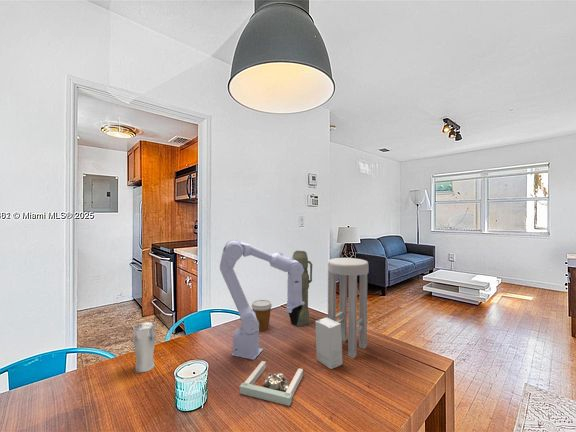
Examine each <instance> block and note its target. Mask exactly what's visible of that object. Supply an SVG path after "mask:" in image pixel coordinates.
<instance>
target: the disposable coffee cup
mask: <svg viewBox="0 0 576 432" xmlns="http://www.w3.org/2000/svg"><path fill="white" fill-rule="evenodd" d="M272 306H273V305H272V301H270V300H269V299H268V300H267V299H258V300H254V301H252V303H251V306H250V308H251V309H252V310H253V311H254V312H255V313H256V317H257V320H258V322H259V332H264V331H265V332H266V331H267V330H269V326H270V318H271V311H272Z"/></svg>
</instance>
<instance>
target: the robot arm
mask: <svg viewBox="0 0 576 432" xmlns="http://www.w3.org/2000/svg"><path fill="white" fill-rule="evenodd" d="M242 256H243V257H250V256H253V257H255V258H258V259H261V260H263V261H266V262H268V263H269V266H270V267H271V268H274V269H277V270H279V271H282V272H284V273H287V299H286V300H287V301H286V308H285V309H286V310H285V312H286V313H288V315H289V319H290V324H291V325H292V326H294V325H297V324H298V320H299V315H300V312H301V309H302V307H303V306H302V305H304V304H305V302H302V274H303V272H304V269H303V266H302V264H301V263H299V262H298V261H296V260H295V259H293V258H292V257H288V256H285V255H283V253H282V252H275V253H270V252H268V251H265V250H264V249H261V248H259V247H257V246H254V245H252V244H250V243H247V242H244V241H239V240H238V239H237V240H236V239H230V240H229V241H227V242H226V244H225V245H224V247H223V249H222V253H221V259H220V262H219V271H220V273H221V275H222V278H223V280H224V282H225V284H226V286H227V289H228V290H229V291H228V292H229V293H230V295H231V298H232V300H233V303H234V305H235V307H236V310H237V312H238V315H239V317H240V318H239V319H240V322H241V327H239V328H236V329H235V330H234V332H233V336H232V353H231V356H235V357H238V358H239V357H240V358H243V359H248V360H256V358H257V357H258V356H259V355H260V353H261V352H263V350H264V348H262V347H260V337H259V336H260V331H259V322H258V320H257V317H256V313H255V312H254V311H253V309H252V307H251V306H250V304H249V302H248V300H247V297H246V295H245V292H244V290H243V288H242V286H241V284H240V281H239V279H238V277H237V274H236V272H235V269H234V268H235V265H236V264H237V262H238V261H239V260H240V258H241V257H242Z"/></svg>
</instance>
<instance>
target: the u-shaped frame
mask: <svg viewBox="0 0 576 432" xmlns="http://www.w3.org/2000/svg"><path fill="white" fill-rule="evenodd" d="M266 369H267V361H264V360H261V361H260V363H259V364H258V365H257V367H255V369H254V370H253V371H252V372H251V374H250V375H249V376H248V377H247V379H245V381H244V382H241V384H240V385H239V394H240V395H244V396H249V397H252V398H257V399H260V400H264V401H267V402H268V401H269V402H272V403H277V404H281V405H284V406H288V407H290V406H291V405H292V402H293V397H294V395H295V392H296V390H297V389H298V387H299V385H300V382H301V380H302V379H303V376H304V369H303V368H297V370H296V372H295V374H294V376H293V378H292V380H291V381H290V382H289V383H290V384H289V386H288V389H287V390H286V391H283V390H278V389H271V388H269V387H266V386H259V385H255V383H256V382H257V380H258V379H259V378H260V376H261V375H262V373H264V371H265V370H266Z"/></svg>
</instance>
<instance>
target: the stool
mask: <svg viewBox="0 0 576 432" xmlns="http://www.w3.org/2000/svg"><path fill="white" fill-rule="evenodd" d="M369 268H370V267H369V262H368V260H365V259H362V258H355V257H354V258H353V257H336V258H335V257H334V258H331V259H328V263H327V318H329V319H331V320H333V321H336V322H338V323H341V336H342V342H344V343H345V342H346V341H347V345H348V347H347V356H348V357H349V358H351V359H355V358H356V357H357V333H359V334H358V348H361V349H364V350H365V349H366V348H367V347H368V346H367V345H368V342H367V341H368V274H369V270H370V269H369ZM337 275H339V301H338V302H339V312H338V313H336V311H337V309H336V308H337V293H336V292H337ZM358 276H359V286H358ZM358 287H359V289H358ZM358 290H359V296H358ZM358 297H359V299H357V298H358ZM357 300H358V301H359V306H358V301H357ZM357 306H358V307H359V309H358V307H357ZM357 309H358V310H359V311H357ZM358 312H359V313H358ZM357 313H358V315H359V318H357V317H358V315H357ZM337 319H338V320H337ZM357 325H358V326H357ZM347 326H348V327H347ZM347 329H348V331H347Z"/></svg>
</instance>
